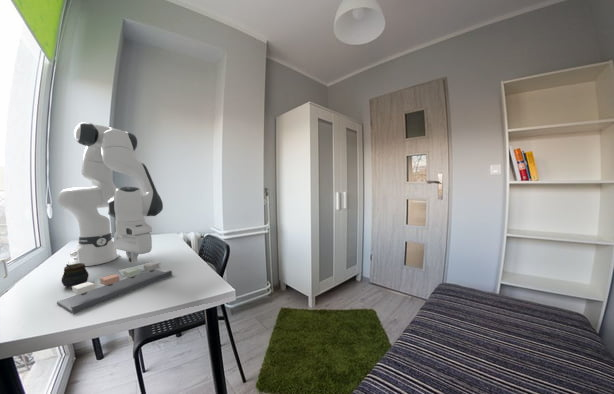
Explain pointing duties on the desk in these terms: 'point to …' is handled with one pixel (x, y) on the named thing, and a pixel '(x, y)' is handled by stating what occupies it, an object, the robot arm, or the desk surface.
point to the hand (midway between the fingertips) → (133, 261)
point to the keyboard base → (111, 291)
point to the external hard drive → (133, 267)
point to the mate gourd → (74, 275)
